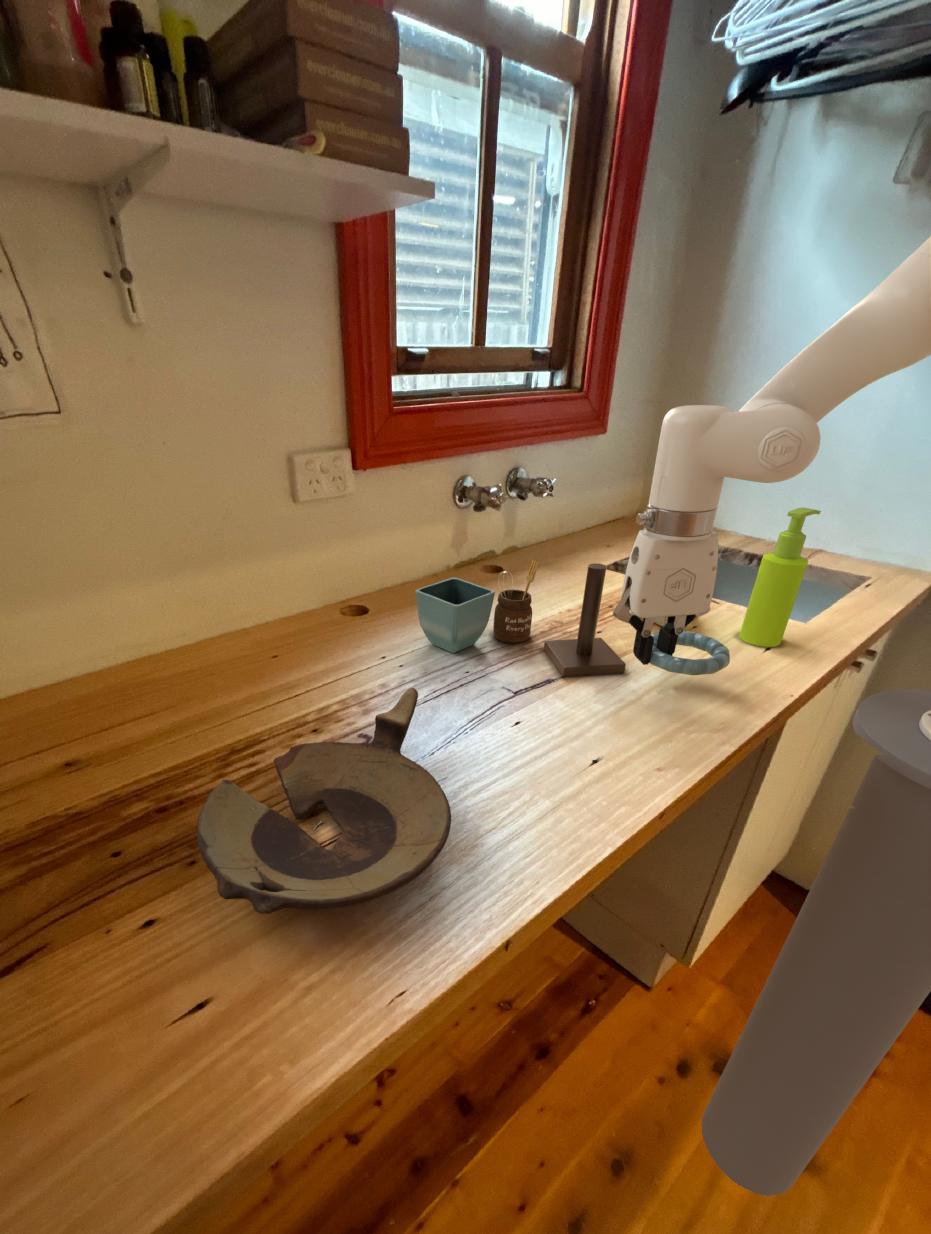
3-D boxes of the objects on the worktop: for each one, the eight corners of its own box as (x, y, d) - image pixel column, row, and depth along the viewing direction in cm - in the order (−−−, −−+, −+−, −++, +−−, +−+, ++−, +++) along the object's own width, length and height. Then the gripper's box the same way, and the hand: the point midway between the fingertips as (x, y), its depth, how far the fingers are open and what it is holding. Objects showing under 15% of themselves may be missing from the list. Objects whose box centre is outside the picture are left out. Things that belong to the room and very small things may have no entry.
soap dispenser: (792, 639, 96) (837, 510, 86) (766, 650, 93) (810, 517, 83) (756, 627, 100) (795, 502, 90) (731, 636, 97) (768, 509, 87)
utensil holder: (485, 632, 99) (490, 560, 93) (518, 625, 101) (525, 555, 95) (504, 646, 95) (511, 572, 89) (538, 639, 97) (547, 566, 91)
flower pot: (492, 645, 95) (497, 590, 91) (454, 662, 90) (456, 606, 86) (451, 628, 101) (453, 576, 96) (413, 644, 96) (413, 590, 91)
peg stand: (599, 646, 95) (615, 554, 87) (624, 673, 87) (643, 575, 79) (543, 649, 94) (554, 557, 86) (563, 677, 86) (577, 578, 79)
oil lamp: (155, 849, 57) (136, 785, 53) (389, 727, 75) (387, 672, 71) (292, 1010, 44) (280, 940, 40) (539, 814, 61) (547, 752, 57)
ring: (699, 638, 87) (702, 625, 86) (745, 674, 78) (749, 659, 77) (626, 644, 87) (628, 631, 86) (663, 680, 77) (666, 666, 76)
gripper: (627, 533, 69) (605, 677, 78) (762, 524, 70) (724, 667, 79) (601, 517, 75) (584, 652, 84) (725, 509, 76) (694, 643, 86)
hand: (652, 658), depth 82 cm, fingers closed on ring, 2 cm apart
